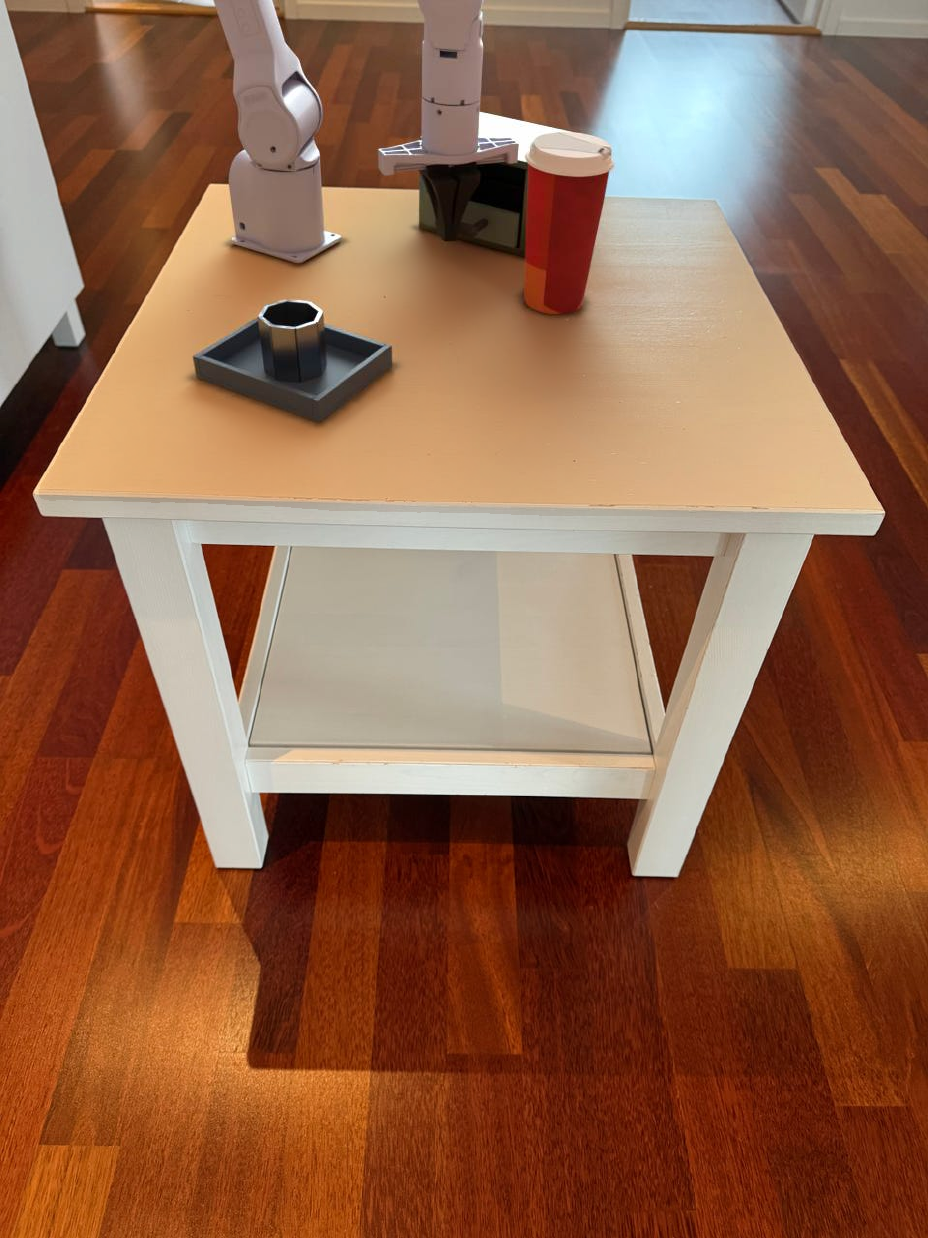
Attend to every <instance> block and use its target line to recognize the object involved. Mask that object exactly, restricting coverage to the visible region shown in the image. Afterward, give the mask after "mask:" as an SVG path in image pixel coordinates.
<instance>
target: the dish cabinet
mask: <svg viewBox="0 0 928 1238" xmlns="http://www.w3.org/2000/svg"><path fill="white" fill-rule="evenodd" d="M553 132H571V131H569V130H565V129H560V128H555V127H550V126H546V125H541V124H537V123H532V122H528V121H523V120H520V119H519V120H518V119H514V118H509V117H506V116H500V115H496V114H491V113H486V112H483V111H480V118H479V137H484V138H509V137H511V138H513V139H514V140H515V141H517V142H518V143H519V151H518V163H512V164H509V163H507V162H497V163H486V164H476V169H477V170H478V171H479V172H480V177H481V178H485V179H489V180H493V181H498V182H502V183H506V184H510V185H514V186H518V187H522V188H525V189H524V201H523V213H522V224H521V236H520V244H519V245H517V246H516V247H515V248H511V247H508V246H504V245H500V244H497V243H493V242H489V241H485V240H482V239H478V238H474V237H469V236H466V235H462V234H457V239H456V240H461V241H464V242H468V243H471V244H475V245H479V246H482V247H487V248H490V249H494V250H498V251H501V252H505V253H509V254H513V255H516V256H518V257H523V258H525V249H526V220H527V193H528V163H527V162H526V160H525V158H524V154H525V153H526V152H527V151H529V150H530V148H529V145H530V144H531V143H532V142H533V141H534V139H535V138H536V137H538V136H540V135H542V134H546V133H553ZM420 140H421V136H419V141H420ZM418 174H419V175H418V176H419V177H418V178H419V179H418V181H419V182H418V183H419V184H418V186H419V187H418V190H419V191H418V194H419V195H418V229H420V230H424V231H428V232H431V233H434V234H438V230H437V227H434V226H430V225H426V224H425V201H426V192H428V191H427V189H426V186H425V184H424V182H423V179H422V177H421V175H420V173H419V172H418Z"/></svg>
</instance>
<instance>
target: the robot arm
mask: <svg viewBox="0 0 928 1238" xmlns="http://www.w3.org/2000/svg"><path fill="white" fill-rule="evenodd" d="M484 1H485V0H417V3H418V7H419V10H420V11H421V13H422V15H423V16H424V17H423V18H424V19H423V40H422V44H421V45H422V46H421V61H422V62H421V136H420V137H421V140H420V139H419V140H415V141H412V142H408V143H404V144H399V145H395V146H389V147H384V148H382V147H381V148H377V160H378V161H377V163H378V165H377V167H378V170H379V171H380V173H381V174H382V175H383V176H386V177H387V176H393V175H395V173H403V172H411V171H418V174H419V173H420V175H421V177H422V179H423V182H424V184H425V186H426V189H427V191H428V194H429V197H430V200H431V203H432V206H433V210H434V214H435V218H436V224H437V230H438V233H437V236H438V237H439V238H440V239H441V241H442V242H444V243H451V242H456V241H457V240H458V239H457V234H458V230H459V227H460V223H461V220H462V217H463V214H464V211H465V209H466V207H467V204H468V202H469V200H470V198H471V196H472V194H473V193H474V191H475V189H476V188H477V186H478V185H479V183H480V172H479V171H478V170H477V169H476V164H486V163H497V162H507V163H509V164H512V163H518V151H519V143H518V142H517V141H515V140H514V139H513V138H511V137H509V138H484V137H479V118H480V112H481V97H482V79H483V77H482V76H483V56H484V44H483V40H482V36H483V33H484V21H483V14H484V13H483V11H482V10H481V9H482V6H483V3H484ZM212 2H213V3H214V6H215V10H216V12H217V16H218V19H219V20H220V25H221V27H222V30H223V33H224V35H225V38H226V41H227V44H228V47H229V50H230V53H231V55H232V59H233V63H234V64H233V67H234V68H233V83H232V94H233V97H234V99H235V102H236V106H237V110H238V111H237V112H238V120H237V131H238V132H237V133H238V138H239V141H240V143H241V145H242V147H243V149H242V150H241V151H240V152H238V153H237V154H236V155H235V157H234V158H233V160H232V162H231V165H230V167H229V172H228V189H229V197H230V205H231V212H232V219H233V220H232V221H233V228H234V234H235V236H233V237H231V238H230V243H231V244H232V245H236V246H238V247H242V248H246V249H249V250H252V251H255V252H258V253H261V254H266V255H269V256H272V257H274V258H279V259H282V260H285V261H289V262H292V263H295V264H302V263H304V262H306V261H307V260H309V259H311V258H313V257H314V256H316V255H318V254H320V253H321V252H323V251H325V250H326V249H328V248H330V247H332V246H334V245H335V244H337V243H339V242H341V241H342V235H341V234H339V233H338V234H337V233H334V232H331V231H327V230H325V219H324V204H323V187H322V172H321V171H322V169H321V155H320V151H319V148H318V147H317V145H316V141H315V135H316V134H317V132H318V131H319V129H320V127H321V126H322V122H323V116H324V115H323V105H322V101H321V98H320V96H319V93H318V92H317V91H316V89H315V88H314V87H313V85H312V84H311V83H310V82H309V80H308V79H307V77H306V76H305V74H304V71H303V69H302V65H301V62H300V59H299V58H298V56H296V54H295V53H294V52H293V50H292V49H291V48H290V47H289V46H288V44H287V43H286V41H285V37H284V34H283V30H282V28H281V25H280V20H279V18H278V15H277V11H276V8H275V6H274V2H273V0H212Z"/></svg>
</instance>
